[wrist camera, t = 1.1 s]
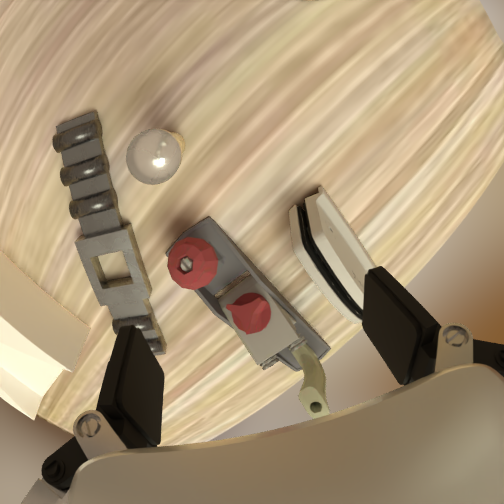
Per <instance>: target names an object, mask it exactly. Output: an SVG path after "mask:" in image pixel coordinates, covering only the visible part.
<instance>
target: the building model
mask: <svg viewBox="0 0 504 504" xmlns="http://www.w3.org/2000/svg"><path fill="white" fill-rule="evenodd" d="M90 329H91V328H90V327H89V326H88V325H86V324H85V323H84V322H82V321H81V320H80V319H78V318H77V317H76V316H74V315H73V314H72V313H71V312H69V311H68V310H67V309H65V308H64V307H63V306H62V305H60V304H59V303H58V302H57V301H56V300H54V299H53V298H52V297H51V296H50V295H48V294H47V293H46V292H45V291H44V290H43V289H41V288H40V287H39V286H38V285H37V284H36V283H35V282H33V281H32V280H31V279H30V278H29V277H28V276H27V275H26V274H25V273H24V272H23V271H21V270H20V269H19V268H18V267H17V266H16V265H15V264H14V263H13V262H12V261H11V260H10V259H9V258H8V257H7V256H6V255H5V254H4V253H3V252H2V251H1V250H0V397H1V398H2V399H4V400H5V401H6V402H8V403H9V404H11V405H12V406H13V407H15V408H16V409H18V410H19V411H21V412H22V413H24V414H25V415H27V416H28V417H30V418H31V419H33V420H35V417H36V414H37V411H38V408H39V405H40V403H41V400H42V397H43V396H44V394H45V393H46V392H47V390H48V389H49V388H50V386H51V385H52V384H53V382H54V381H55V380H56V378H57V377H58V376H59V374H60V373H61V372H62V370H63V369H65V370H68V371H71V372H74V369H75V366H76V364H77V361H78V358H79V356H80V353H81V351H82V348H83V346H84V343H85V341H86V339H87V336H88V334H89V331H90Z"/></svg>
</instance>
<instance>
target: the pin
mask: <svg viewBox="0 0 504 504" xmlns="http://www.w3.org/2000/svg"><path fill="white" fill-rule="evenodd" d="M184 149H185V141H184V139H183V137H182V136H181V135H180V134H178V133H175V132H168V131H166V130H163V129H150V130H146V131H143V132H141V133H140V134H138V135H137V136H136V137H135V138H134V139H133V140H132V141H131V143H130V145H129V147H128V149H127V154H126V162H127V166H128V169H129V171H130V172H131V174H132V175H133V176H134V177H135V178H136V179H137V180H139V181H140V182H143V183H145V184H151V185H153V184H160V183H163V182H165V181H167V180H169V179H170V178H171V177H172V176H173V175H174V174H175V173H176V171H177V170H178V168H179V166H180V164H181V161H182V153H183V152H184Z"/></svg>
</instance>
